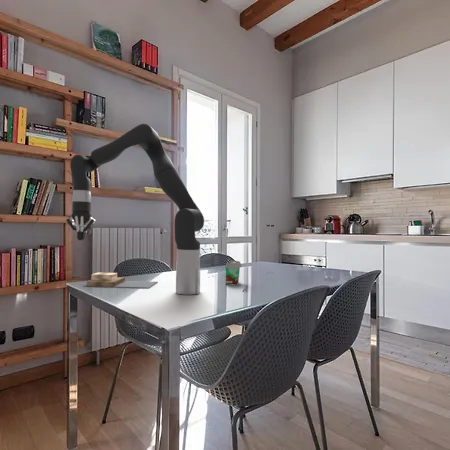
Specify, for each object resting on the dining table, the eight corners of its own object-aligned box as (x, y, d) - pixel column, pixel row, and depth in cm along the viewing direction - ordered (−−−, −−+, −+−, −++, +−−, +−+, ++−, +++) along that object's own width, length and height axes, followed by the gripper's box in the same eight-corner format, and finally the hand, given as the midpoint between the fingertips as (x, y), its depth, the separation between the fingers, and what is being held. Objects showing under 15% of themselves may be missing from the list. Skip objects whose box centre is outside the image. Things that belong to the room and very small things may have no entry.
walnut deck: (124, 281, 150) (124, 277, 150) (114, 286, 138) (114, 282, 138) (99, 281, 151) (99, 276, 151) (86, 286, 139) (87, 281, 139)
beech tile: (117, 278, 147) (117, 272, 147) (111, 280, 141) (111, 275, 141) (97, 277, 148) (97, 272, 148) (91, 280, 142) (91, 274, 142)
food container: (238, 286, 146) (239, 263, 146) (225, 285, 147) (225, 263, 147) (242, 281, 158) (243, 260, 158) (230, 280, 160) (230, 260, 160)
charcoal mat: (157, 282, 150) (157, 281, 150) (149, 288, 136) (149, 287, 136) (126, 281, 151) (126, 280, 151) (114, 287, 137) (114, 286, 137)
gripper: (100, 202, 148) (99, 240, 148) (71, 201, 149) (70, 239, 149) (92, 200, 141) (91, 241, 141) (62, 200, 141) (61, 240, 141)
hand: (80, 240), depth 145 cm, fingers closed
